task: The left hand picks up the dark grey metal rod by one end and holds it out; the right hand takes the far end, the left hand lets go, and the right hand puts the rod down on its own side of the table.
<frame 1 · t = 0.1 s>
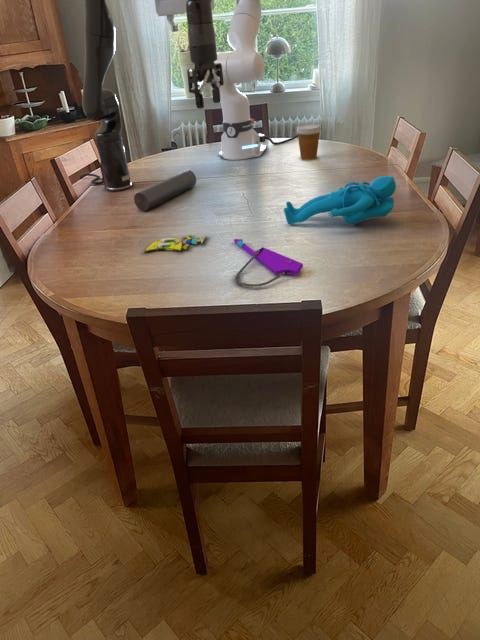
left hand: (208, 105, 142), 29 cm above the table, tool pointing down, fingers open, 8 cm apart
right hand: (187, 30, 156), 48 cm above the table, tool pointing down, fingers open, 8 cm apart
cup of beer: (308, 158, 193), on the table
toy 2: (176, 245, 130), on the table
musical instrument: (254, 266, 116), on the table
rod: (168, 198, 164), on the table
toy: (337, 222, 135), on the table
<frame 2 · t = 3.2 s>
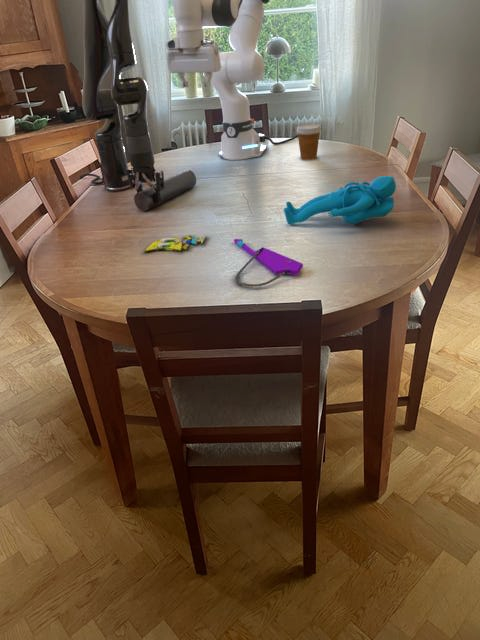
left hand: (149, 201, 157), 2 cm above the table, tool pointing down, fingers closed on rod, 6 cm apart
right hand: (196, 87, 166), 31 cm above the table, tool pointing down, fingers open, 8 cm apart
rod: (168, 198, 164), on the table, touching left hand
everything else where it was.
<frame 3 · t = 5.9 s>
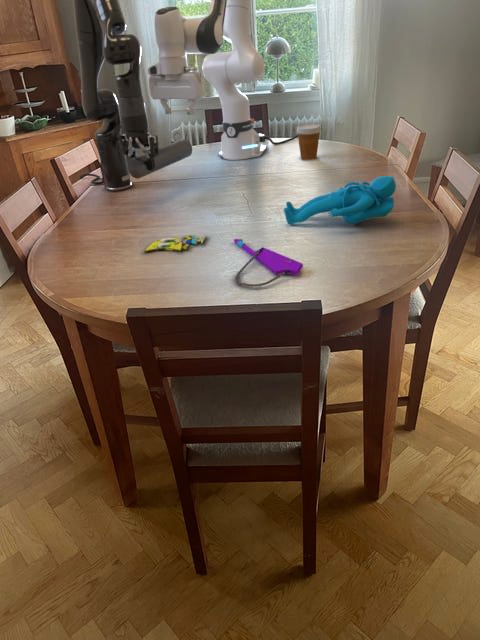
left hand: (143, 169, 151), 12 cm above the table, tool pointing down, fingers closed on rod, 6 cm apart
right hand: (179, 114, 160), 25 cm above the table, tool pointing down, fingers open, 8 cm apart
rod: (162, 167, 159), point 11 cm above the table, touching left hand
everything else where it was.
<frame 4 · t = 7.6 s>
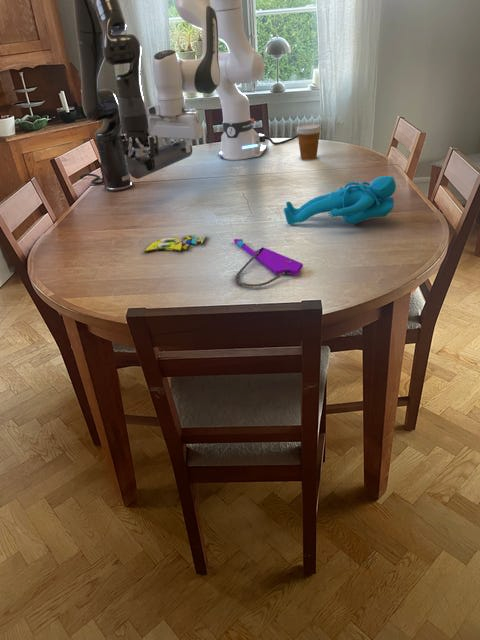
left hand: (143, 169, 151), 12 cm above the table, tool pointing down, fingers closed on rod, 6 cm apart
right hand: (178, 151, 164), 13 cm above the table, tool pointing down, fingers closed on rod, 6 cm apart
rod: (163, 167, 159), point 11 cm above the table, touching left hand, right hand
everything else where it was.
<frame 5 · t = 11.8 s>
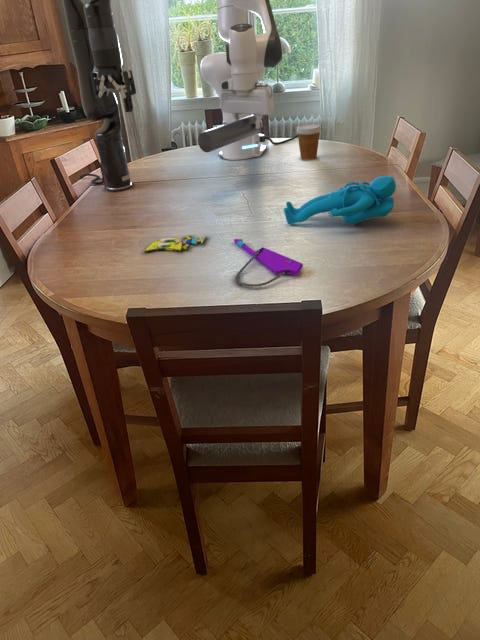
left hand: (118, 111, 137), 30 cm above the table, tool pointing down, fingers open, 8 cm apart
right hand: (248, 127, 163), 18 cm above the table, tool pointing down, fingers closed on rod, 6 cm apart
rod: (232, 142, 159), point 16 cm above the table, touching right hand
everything else where it was.
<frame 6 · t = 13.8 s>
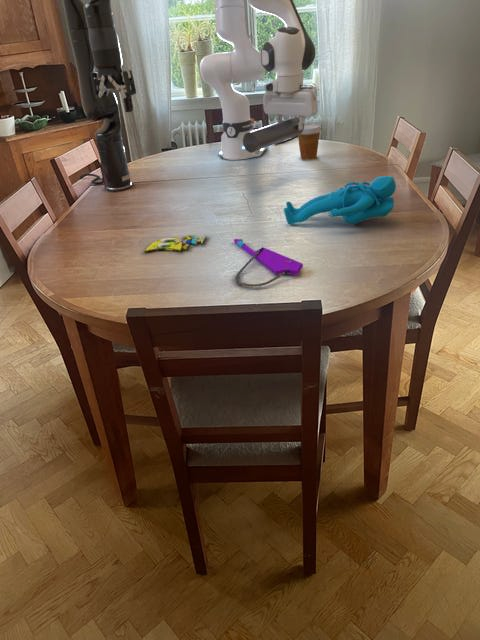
left hand: (118, 111, 137), 30 cm above the table, tool pointing down, fingers open, 8 cm apart
right hand: (290, 128, 165), 16 cm above the table, tool pointing down, fingers closed on rod, 6 cm apart
rod: (274, 143, 161), point 14 cm above the table, touching right hand
everything else where it was.
when the right hand's fingers open (4 cm above the table, at t = 15.8 s): rod stays where it is, on the table.
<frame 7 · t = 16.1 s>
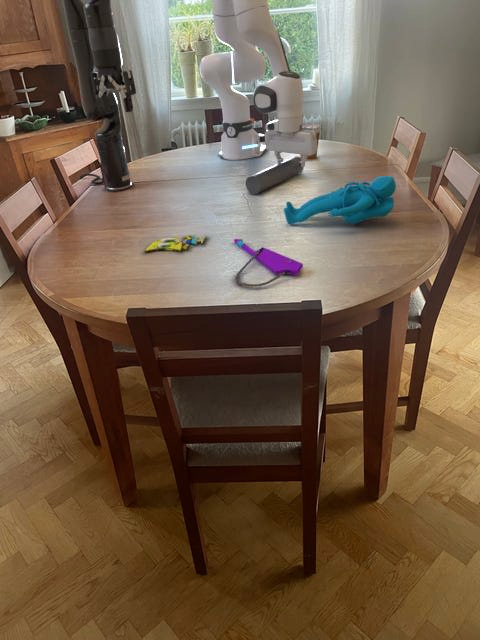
left hand: (118, 111, 137), 30 cm above the table, tool pointing down, fingers open, 8 cm apart
right hand: (291, 165, 172), 4 cm above the table, tool pointing down, fingers open, 8 cm apart
rod: (276, 183, 169), on the table
everything else where it was.
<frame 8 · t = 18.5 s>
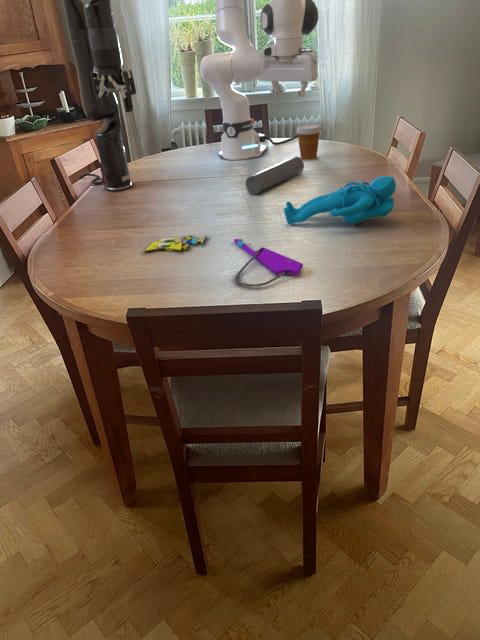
left hand: (118, 111, 137), 30 cm above the table, tool pointing down, fingers open, 8 cm apart
right hand: (289, 96, 160), 27 cm above the table, tool pointing down, fingers open, 8 cm apart
nothing on the table moved.
at the end: rod inside the target area (9.0 cm from its centre), on the table; the left hand is holding nothing; the right hand is holding nothing; rod at rest at the end (0.0 cm/s) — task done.
